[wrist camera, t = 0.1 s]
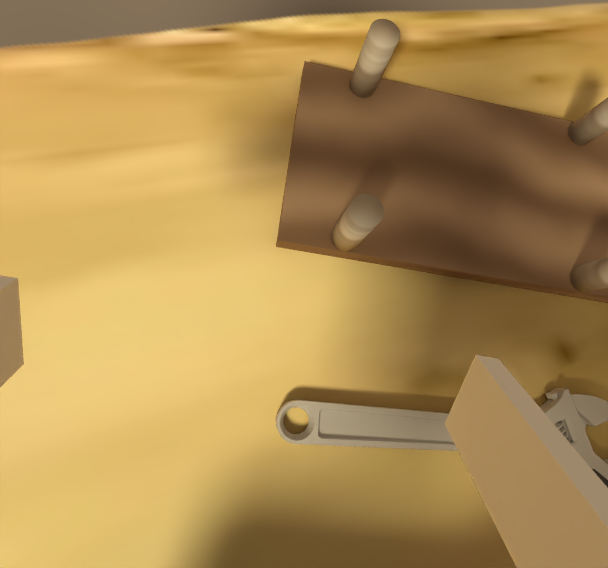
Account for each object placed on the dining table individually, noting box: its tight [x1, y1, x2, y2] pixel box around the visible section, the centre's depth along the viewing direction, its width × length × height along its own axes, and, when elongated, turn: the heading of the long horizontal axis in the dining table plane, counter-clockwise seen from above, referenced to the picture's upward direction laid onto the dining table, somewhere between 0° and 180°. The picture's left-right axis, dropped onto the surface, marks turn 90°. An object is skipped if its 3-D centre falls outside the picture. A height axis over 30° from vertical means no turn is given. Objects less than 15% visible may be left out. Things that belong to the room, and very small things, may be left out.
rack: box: [276, 19, 608, 303], centre depth 28 cm, size 14×27×6 cm, turn 83°
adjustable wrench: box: [276, 388, 608, 480], centre depth 28 cm, size 25×6×2 cm, turn 81°
